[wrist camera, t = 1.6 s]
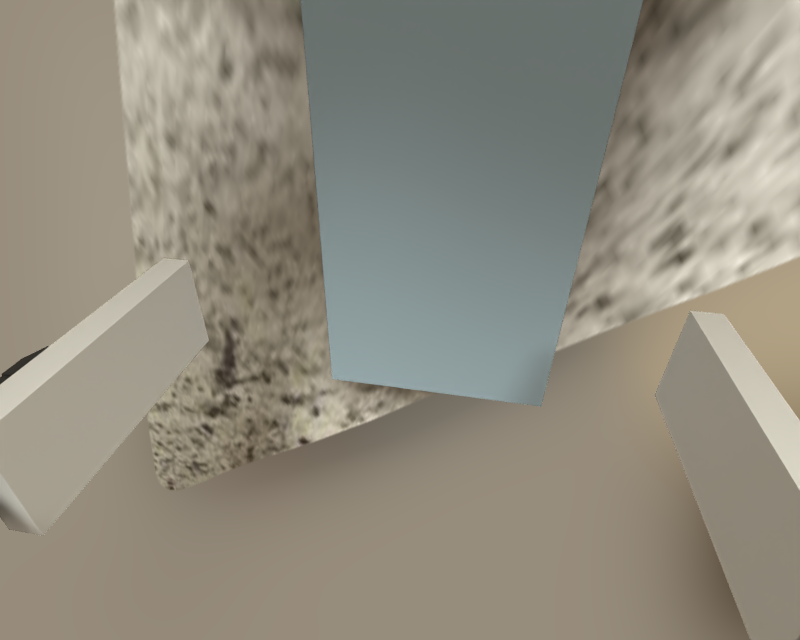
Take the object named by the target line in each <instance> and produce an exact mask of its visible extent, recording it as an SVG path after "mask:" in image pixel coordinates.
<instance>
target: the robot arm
mask: <svg viewBox="0 0 800 640" xmlns="http://www.w3.org/2000/svg"><path fill="white" fill-rule="evenodd" d="M208 341H209V339H208V335H207V331H206V327H205V323H204V319H203V315H202V311H201V307H200V303H199V299H198V295H197V291H196V287H195V283H194V279H193V275H192V271H191V267H190V263H189V261H188V260H178V259H168V258H163V259H162V260H160V261H159V262H158V263H156V264H155V265H154V266H153V267H151V268H150V269H149V270H147V271H146V272H145V273H143V274H142V275H141V276H140V277H138V278H137V279H136V280H135V281H133V282H132V283H131V284H129V285H128V286H127V287H125V288H124V289H123V290H122V291H120V292H119V293H118V294H117V295H115V296H114V297H113V298H111V299H110V300H109V301H107V302H106V303H105V304H104V305H102V306H101V307H100V308H98V309H97V310H96V311H94V312H93V313H92V314H91V315H89V316H88V317H87V318H85V319H84V320H83V321H82V322H80V323H79V324H78V325H76V326H75V327H74V328H73V329H71V330H70V331H69V332H67V333H66V334H65V335H64V336H62V337H61V338H60V339H58V340H57V341H56V342H55V343H53V344H52V345H51V346H47V347H45V348H43V349H41V350H39V351H37V352H35V353H33V354H31V355H29V356H27V357H24V358H23V359H21V360H20V361H18V362H17V363H16V364H15V365H13V366H12V367H10V368H9V369H8V370H7V371H5V372H4V373H2V377H1V378H0V518H1V519H2V521H3V522H4V523H5V525H6V526H7V527H8V529H9V530H15V531H20V532H25V533H31V534H36V535H41V536H43V535H44V534H45V533H46V532H47V531H48V530H49V528H50V527H51V526H52V525H53V524H54V522H55V521H56V520H57V519H58V518H59V517H60V515H61V514H62V513H63V512H64V511H65V510H66V508H67V507H68V506H69V505H70V504H71V502H72V501H73V500H74V499H75V498H76V496H77V495H78V494H79V493H80V492H81V491H82V489H83V488H84V487H85V486H86V485H87V484H88V482H89V481H90V480H91V479H92V478H93V477H94V475H95V474H96V473H97V472H98V471H99V469H100V468H101V467H102V466H103V465H104V464H105V462H106V461H107V460H108V459H109V457H110V456H111V455H112V454H113V453H114V452H115V451H116V449H117V448H118V447H119V446H120V445H121V443H122V442H123V441H124V440H125V439H126V438H127V436H128V435H129V434H130V433H131V432H132V430H133V429H134V428H135V427H136V426H137V425H138V423H139V422H140V421H141V420H142V418H144V416H145V415H146V414H147V413H148V412H149V410H150V409H151V408H152V407H153V406H154V405H155V403H156V402H157V401H158V400H159V399H160V397H161V396H162V395H163V394H164V393H165V392H166V390H167V389H168V388H169V387H170V386H171V384H172V383H173V382H174V381H175V380H176V379H177V377H178V376H179V375H180V374H181V373H182V372H183V370H184V369H185V368H186V367H187V366H188V364H189V363H190V362H191V361H192V360H193V359H194V357H195V356H196V355H197V354H198V353H199V351H200V350H201V349H202V348H203V347H204V346H205V344H206V343H207V342H208ZM655 397H656V399H657V402H658V404H659V407H660V410H661V412H662V415H663V417H664V420H665V422H666V425H667V427H668V430H669V433H670V435H671V438H672V440H673V443H674V445H675V448H676V451H677V453H678V455H679V458H680V461H681V463H682V466H683V468H684V471H685V473H686V476H687V479H688V481H689V484H690V486H691V489H692V491H693V494H694V497H695V499H696V502H697V504H698V507H699V509H700V512H701V515H702V517H703V520H704V522H705V525H706V527H707V530H708V532H709V535H710V538H711V540H712V542H713V545H714V548H715V550H716V553H717V555H718V558H719V561H720V563H721V566H722V568H723V571H724V573H725V576H726V578H727V581H728V584H729V586H730V588H731V591H732V594H733V596H734V599H735V602H736V604H737V607H738V609H739V612H740V614H741V617H742V619H743V622H744V625H745V627H746V630H747V632H748V635H749V637H750V640H800V421H799V419H798V418H797V416H796V415H795V413H794V412H793V411H792V409H791V408H790V406H789V405H788V404H787V402H786V401H785V399H784V398H783V397H782V395H781V394H780V392H779V391H778V389H777V388H776V387H775V385H774V384H773V382H772V381H771V380H770V378H769V377H768V375H767V374H766V373H765V371H764V370H763V368H762V367H761V365H760V364H759V363H758V362H757V360H756V359H755V357H754V356H753V354H752V353H751V351H750V350H749V349H748V347H747V346H746V344H745V343H744V342H743V340H742V339H741V337H740V336H739V335H738V333H737V332H736V330H735V329H734V327H733V326H732V325H731V323H730V322H729V320H728V319H727V318H726V316H725V315H724V314H718V313H708V312H698V311H690V313H689V315H688V317H687V320H686V322H685V324H684V327H683V329H682V332H681V334H680V336H679V339H678V341H677V344H676V346H675V349H674V351H673V353H672V355H671V358H670V360H669V362H668V365H667V367H666V370H665V372H664V374H663V377H662V379H661V381H660V384H659V386H658V389H657V391H656V393H655Z"/></svg>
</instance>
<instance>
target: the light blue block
mask: <svg viewBox="0 0 800 640" xmlns="http://www.w3.org/2000/svg"><path fill="white" fill-rule="evenodd" d="M642 4H643V0H301V11H302V23H303V35H304V47H305V59H306V71H307V83H308V95H309V107H310V119H311V131H312V143H313V155H314V167H315V179H316V191H317V203H318V215H319V227H320V239H321V251H322V263H323V275H324V287H325V299H326V311H327V323H328V335H329V347H330V359H331V371H332V379H337V380H344V381H352V382H359V383H367V384H375V385H382V386H390V387H397V388H405V389H413V390H420V391H428V392H436V393H444V394H451V395H458V396H466V397H474V398H482V399H489V400H497V401H504V402H512V403H519V404H527V405H535V406H541V405H542V401H543V397H544V393H545V389H546V385H547V381H548V377H549V373H550V369H551V365H552V361H553V357H554V354H555V350H556V346H557V342H558V338H559V334H560V330H561V326H562V322H563V318H564V314H565V310H566V306H567V302H568V298H569V294H570V290H571V286H572V282H573V278H574V274H575V270H576V266H577V262H578V258H579V254H580V250H581V246H582V242H583V238H584V234H585V230H586V226H587V222H588V218H589V214H590V210H591V206H592V202H593V198H594V195H595V191H596V187H597V183H598V179H599V175H600V171H601V167H602V163H603V159H604V155H605V151H606V147H607V143H608V139H609V135H610V131H611V127H612V123H613V119H614V115H615V111H616V107H617V103H618V99H619V95H620V91H621V87H622V83H623V79H624V75H625V71H626V67H627V63H628V59H629V55H630V51H631V47H632V43H633V39H634V35H635V32H636V28H637V24H638V20H639V16H640V12H641V8H642Z"/></svg>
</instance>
